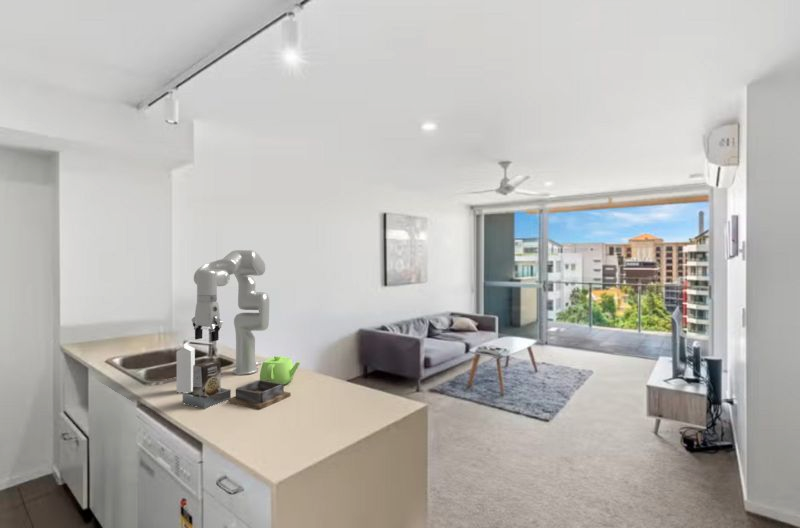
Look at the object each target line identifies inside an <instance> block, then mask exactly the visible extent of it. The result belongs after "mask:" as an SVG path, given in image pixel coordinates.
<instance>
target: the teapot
mask: <svg viewBox="0 0 800 528" xmlns="http://www.w3.org/2000/svg"><path fill="white" fill-rule="evenodd" d="M300 365H301V362H297V361H296V362H295V364H293V360H292V358H289V357H288V356H281V355H275V356H273V357H269V358H267V359H266V360H264V361H263V362H262V363H261V368H260V373H259V380H264V381H270V382H276V383H281V384H284V385H287V384H288V383H290V382H292V380H293V379H294V376H295V373H296V372H297V370H298V368H299V366H300Z"/></svg>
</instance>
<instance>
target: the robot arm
mask: <svg viewBox="0 0 800 528" xmlns="http://www.w3.org/2000/svg"><path fill="white" fill-rule="evenodd" d="M265 272H266V263H265V261H264V259H262V258H261V256H260V254H258V253H257V251H254V250H251V249H249V250H247V249H246V250H243V249H239V250H238V249H235V250H232V251H230V252H229V253H228V254H226V255H225V256H224V257H223V258H221V259H217V260H215V261H211V262H207V263H205V264H203V265H201V266H200V267H199V268H198V269H196V271H195V272H194V275H193V281H194V284H195V285H196V305H195V313H194V317H192V318H191V322H192V326H193V330H194V339H195V340H201V339H203V327H207V328H210V330H211V332H210V341H211V342H217V341H219V339H220V338H219V336H220V335H219V333H220V330H221V328H222V325H223V320H222V319H221V318H220V316H221V315H220V307H219V302H217V301H218V295H217V293H218V292H217V291H218V290H217V289H218V287H224V286H226V285H228V283H229V282H230V279H231V277H230V276H232V275H234V277H235V278H236V281H237V283H238V289H237V291H238V292H237V294H238V295H237V306H238V308H239V309H240V310H243V311H258V312H240V313H237V314H236V315H235V316H234V318H233V324H234V330H235V368H234V369H233V370H232V374H233V375H237V376H243V375H244V376H247V375H252V374H255V373H257V372H258V371H259V367H258V366H260V365H261V366H262V361H261V360H260V361H256V337H255V335H254V334H253V332H257V331H258V332H260V331H261V332H262V331H266V330H267V329H268V328H269V324H270V323H269V321H270V297H269V294H267V292H262V291H261V292H260V291H257V292H256V281H255V280H254V278H253V277H254V276H257V277H258V276H263V275H264V274H265Z"/></svg>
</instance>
